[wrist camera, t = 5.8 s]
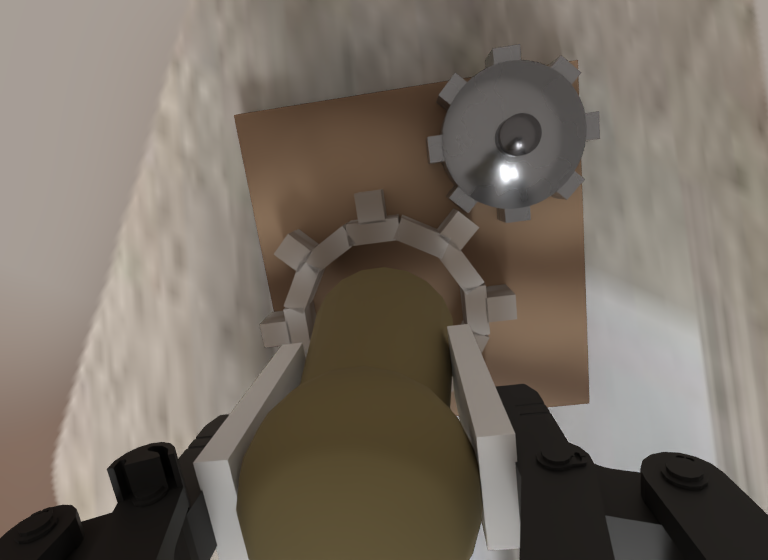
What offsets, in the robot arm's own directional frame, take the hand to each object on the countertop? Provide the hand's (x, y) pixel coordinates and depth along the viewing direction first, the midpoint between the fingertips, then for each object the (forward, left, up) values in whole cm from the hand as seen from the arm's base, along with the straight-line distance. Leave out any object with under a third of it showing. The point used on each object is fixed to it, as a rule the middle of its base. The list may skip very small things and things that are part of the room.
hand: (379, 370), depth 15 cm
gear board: (+2, -2, -9) cm, 9 cm away
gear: (+7, -6, -7) cm, 12 cm away
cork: (0, 0, -3) cm, 3 cm away
